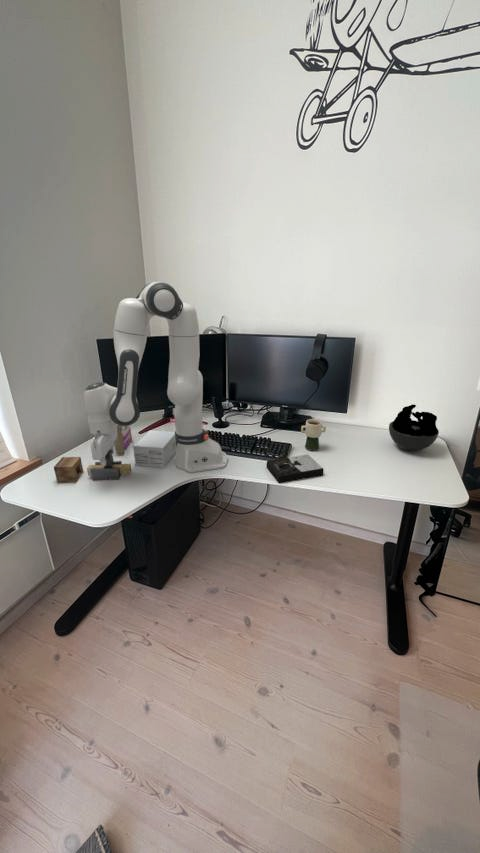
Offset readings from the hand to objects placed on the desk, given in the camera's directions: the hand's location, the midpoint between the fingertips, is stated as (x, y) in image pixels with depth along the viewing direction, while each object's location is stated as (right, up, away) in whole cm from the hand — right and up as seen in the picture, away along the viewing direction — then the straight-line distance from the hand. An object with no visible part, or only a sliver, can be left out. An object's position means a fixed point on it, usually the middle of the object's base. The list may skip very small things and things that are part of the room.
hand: (107, 459), depth 136 cm
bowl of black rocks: (+128, +3, +24) cm, 130 cm away
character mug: (+84, +3, +24) cm, 87 cm away
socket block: (-15, -7, +2) cm, 17 cm away
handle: (-2, 0, +20) cm, 21 cm away
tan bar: (0, -6, +2) cm, 6 cm away
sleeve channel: (-1, -7, +3) cm, 8 cm away
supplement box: (+15, -1, +18) cm, 23 cm away
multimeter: (+73, -6, +6) cm, 73 cm away
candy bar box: (-3, +4, +29) cm, 29 cm away
